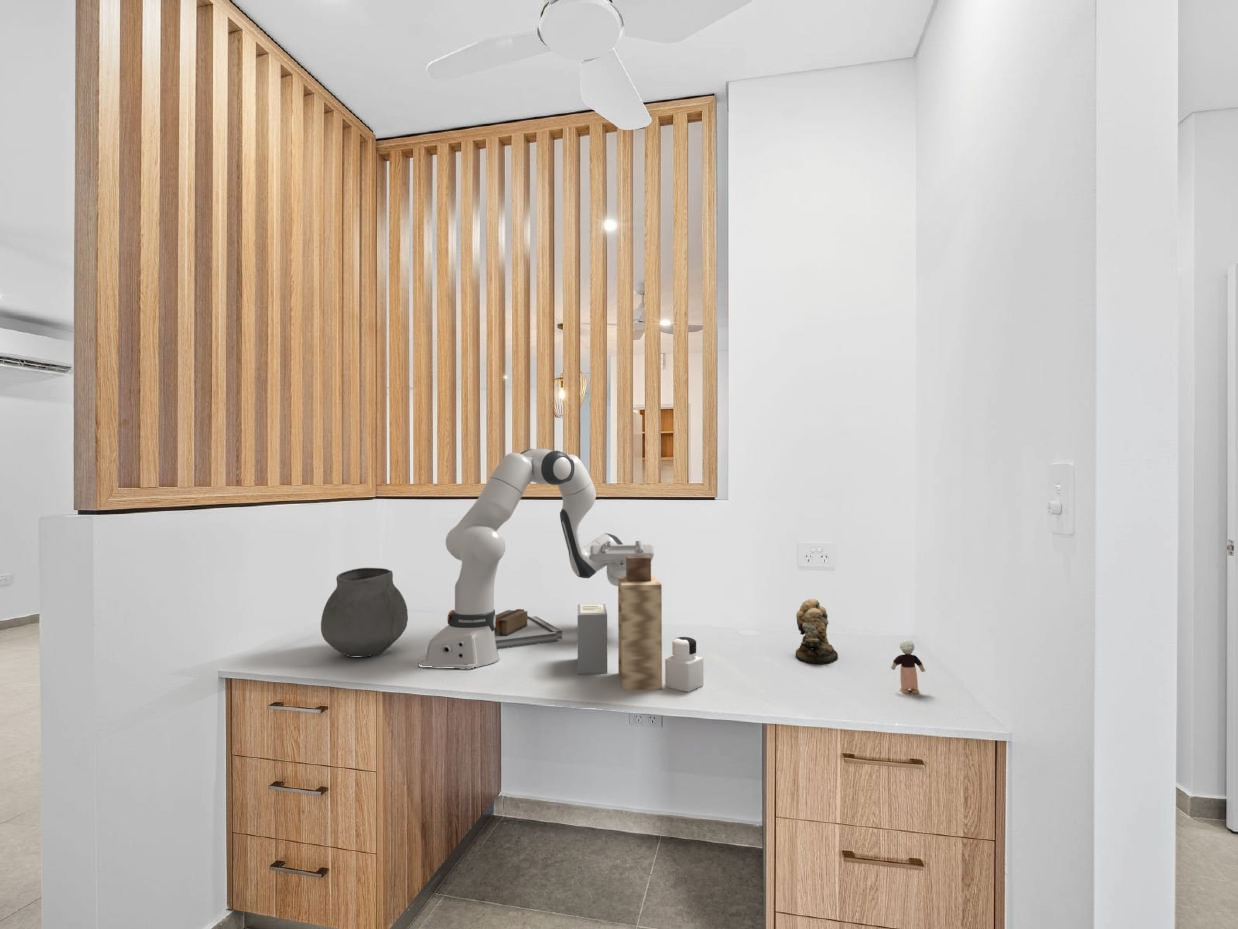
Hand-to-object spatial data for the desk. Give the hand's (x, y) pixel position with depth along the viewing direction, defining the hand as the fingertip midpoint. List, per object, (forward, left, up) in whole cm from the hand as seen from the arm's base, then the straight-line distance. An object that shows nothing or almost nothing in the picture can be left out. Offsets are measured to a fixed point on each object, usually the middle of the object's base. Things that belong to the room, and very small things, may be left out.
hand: (623, 543), depth 195 cm
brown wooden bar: (+2, -24, -6) cm, 25 cm away
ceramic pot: (-78, 0, -33) cm, 85 cm away
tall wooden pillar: (+2, -31, -32) cm, 45 cm away
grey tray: (-38, +19, -33) cm, 54 cm away
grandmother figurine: (+67, -44, -33) cm, 87 cm away
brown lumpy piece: (+56, -13, -33) cm, 66 cm away
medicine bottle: (+13, -36, -33) cm, 50 cm away
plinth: (-10, -17, -32) cm, 38 cm away
